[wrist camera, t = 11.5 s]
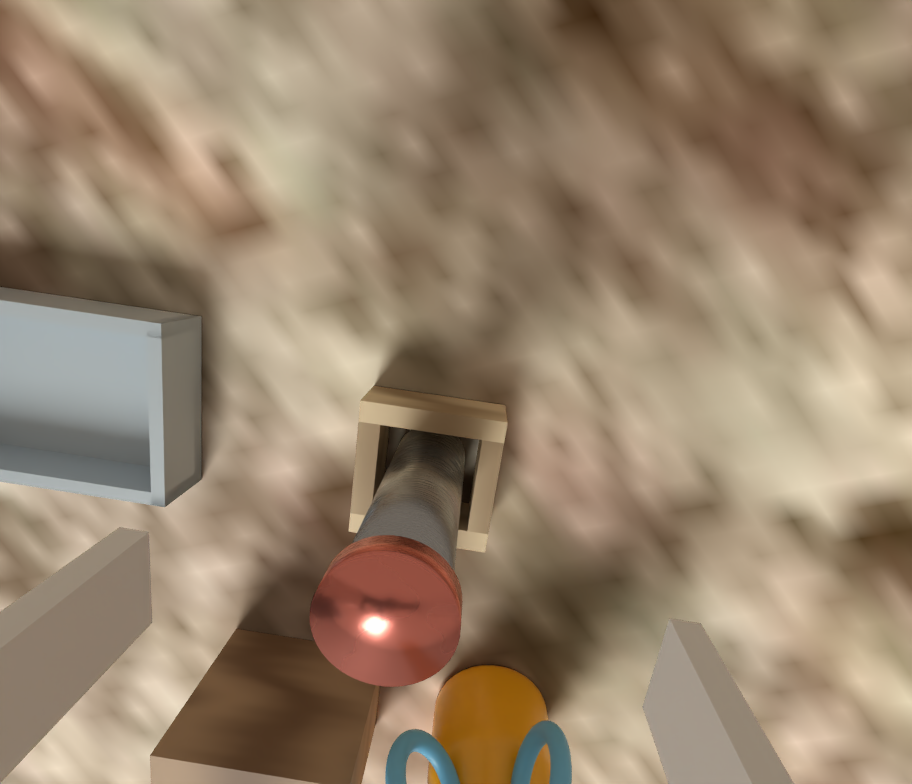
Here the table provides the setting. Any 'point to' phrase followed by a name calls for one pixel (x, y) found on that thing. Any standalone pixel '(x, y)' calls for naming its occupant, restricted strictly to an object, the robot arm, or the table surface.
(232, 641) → the block
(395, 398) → the socket block
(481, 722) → the cylinder
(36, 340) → the tray
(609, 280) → the table surface
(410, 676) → the pin
